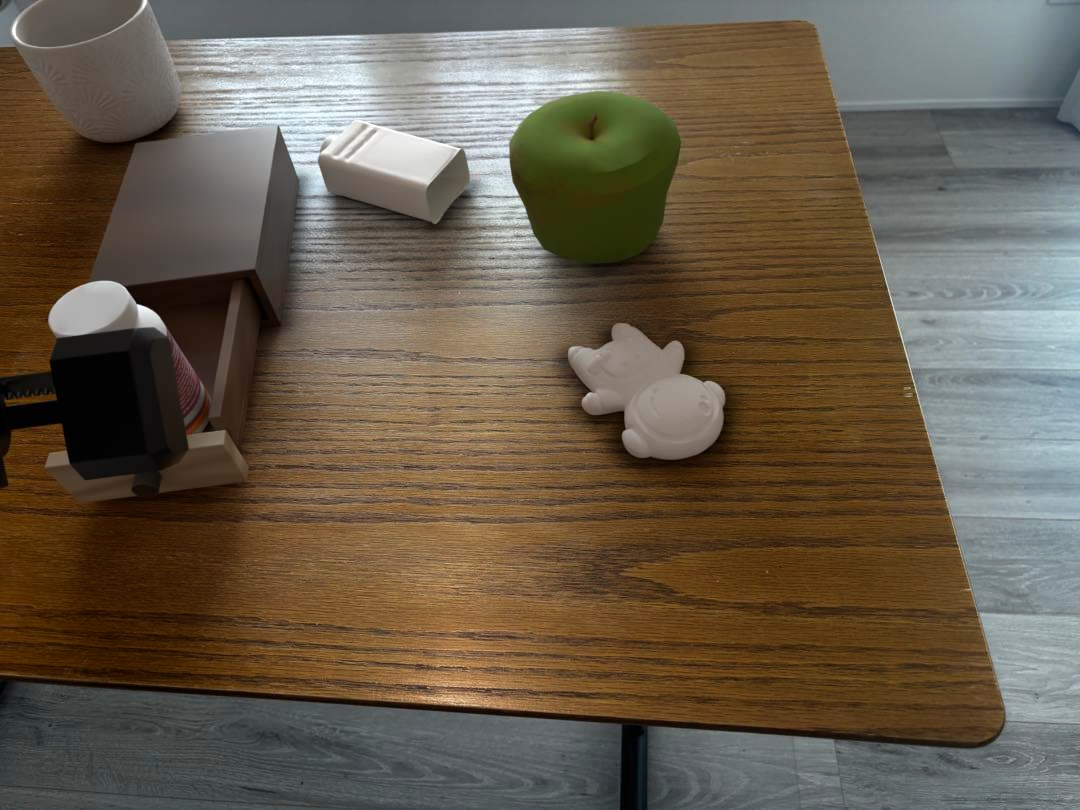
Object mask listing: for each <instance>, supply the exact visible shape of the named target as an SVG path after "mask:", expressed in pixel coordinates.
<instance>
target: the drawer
mask: <svg viewBox="0 0 1080 810" xmlns="http://www.w3.org/2000/svg"><path fill="white" fill-rule="evenodd" d="M129 294H130V295H131V297H132V298H133V299H134V301H135V302H136V304H137V305H141V306H144V307H147V308H149V309H151V310H152V311H153V312H155V313H156V314H157V315H158V316H159V317H160V319H161V320H162V322H163V323H164V325H165V326H166V328H167V329H168V331H169V332H170V334H171V336H172V337H173V339H174V340H175V342H176V343H177V345H178V346H179V348H180V350H181V351H182V353H183V354H184V356H185V357H186V359H187V360H188V362H189V364H190V365H191V367H192V368H193V370H194V372H195V373H196V375H197V376H198V378H199V379H200V381H201V383H202V384H203V386H204V387H205V389H206V390H207V392H208V394H209V396H210V398H211V405H210V410H209V416H208V419H209V422H208V424H207V426H206V427H205V429H204V430H203V431H202V433H199V434H191V435H187V440H188V446H189V450H188V451H187V453H186V454H185V455H184V457H183V458H182V460H181V461H180V462H179V463H178V464H175V465H173V466H171V467H168V468H166V469H164V470H162V471H154V472H146V473H139V474H131V475H123V476H116V477H108V478H100V479H92V480H84V479H83V478H82V477H81V476H80V475H79V474H78V472H77V471H76V470H75V469H74V468H73V467H72V466H71V465H70V464H69V459H68V454H67V450H62V451H55V452H54V451H53V452H49V453H48V456H47V459H46V462H45V465H44V469H45V470H46V472H48V473H49V475H50V476H51V477H52V478H53V479H54V480H55V481H56V482H57V483H58V484H59V486H61V487H62V488H63V489H64V491H66V492H67V494H69V495H70V496H71V497H72V498H73V499H74V500H75V502H77V503H78V504H85V503H93V502H100V501H109V500H115V499H123V498H130V497H131V498H132V497H140V498H147V499H148V498H149V499H150V498H154V497H156V496H158V495H159V494H161V493H169V492H178V491H185V490H193V489H199V488H207V487H214V486H215V487H216V486H222V485H231V484H238V483H246V482H248V478H249V477H248V475H249V470H250V469H249V468H250V467H249V465H248V464H247V462H246V460H245V458H244V457H243V456H242V454H241V451H242V447H243V438H244V433H245V426H246V420H247V413H248V406H249V399H250V393H251V388H252V387H251V385H252V380H253V372H254V366H255V360H256V354H257V353H256V352H257V346H258V339H259V333H260V332H259V331H260V328H259V326H260V319H261V313H262V306H263V305H262V303H261V301H260V299H259V297H258V295H257V293H256V290H255V288H254V286H253V284H252V282H251V280H250V278H249V277H245V278H237V279H229V280H222V281H214V282H206V283H199V284H191V285H184V286H176V287H168V288H161V289H153V290H145V291H138V292H130V293H129Z"/></svg>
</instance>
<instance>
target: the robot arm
mask: <svg viewBox="0 0 1080 810" xmlns="http://www.w3.org/2000/svg"><path fill="white" fill-rule="evenodd" d="M49 357H50V358H49V362H48V363H49V367H50V370H47V371H40V372H32V373H31V372H30V373H24V374H17V375H9V376H1V377H0V490H2V489H5V488H7V487H9V486H10V485H9V480H8V475H7V471H6V466H5V460H4V457H5V456H7V454H8V453H9V450H10V448H11V447H10V446H11V442H12V431H14V430H15V431H16V430H23V429H29V428H38V427H45V426H52V425H53V426H55V425H60V424H61V427H62V433H63V437H64V438H63V439H64V444H65V448H66V451H67V454H68V459H69V464H70V465H71V466H72V467H73V468H74V469H75V470H76V471H77V472H78V474H79V475H80V476H81V477H82V478H83V479H84V480H92V479H100V478H108V477H116V476H123V475H131V474H139V473H146V472H154V471H162V470H164V469H166V468H168V467H171V466H173V465H175V464H178V463H179V462H180V461H181V460H182V458H183V457H184V455H185V454H186V453H187V451H188V450H189V446H188V440H187V435H186V429H185V424H184V418H183V412H182V407H181V401H180V396H179V390H178V385H177V379H176V373H175V368H174V362H173V357H172V351H171V346H170V340H169V337H167V336H166V335H165V334H163V333H162V332H161V331H159V330H158V329H157V328H155V327H143V328H130V329H123V330H115V331H107V332H100V333H92V334H84V335H77V336H69V337H61V338H56V341H55V343H54V346H53V348H52V352H51V354H50V356H49ZM50 394H52V395H55V398H56V399H48V400H42V401H33V402H25V403H18V404H17V403H16V404H10V405H7V403H6V402H5V401H11V400H20V399H24V398H25V399H27V398H32V397H34V398H35V397H41V396H49V395H50Z"/></svg>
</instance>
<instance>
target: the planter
mask: <svg viewBox="0 0 1080 810" xmlns="http://www.w3.org/2000/svg"><path fill="white" fill-rule="evenodd" d="M9 38H10V41H11V43H12V44H13V45H14V46H15V48H16V49H17V51H18V53H19V54H20V56H21V57H22V59H23V61H24V63H25V64H26V65H27V68H28V69H29V70H30V72H31V73H32V76H34V77H35V79H36V81H37V83H38V84H39V85H40V87H41V88H42V90H43V91H44V94H45V95H47V97H48V99H49V100H50V102H51V103H52V105H53V106H54V108H55V109H56V110H57V112H58V113H59V114H60V116H61V117H62V119H64V121H65V122H66V123H67V124H68V125H69V126H70V128H72V129H73V130H74V131H75V132H76V133H78V134H79V135H80V136H82V137H83V138H86V139H89V140H91V141H94V142H99V143H109V144H110V143H113V144H114V143H124V142H125V143H126V142H130V141H134V140H137V139H140V138H143V137H147V136H148V135H150V134H153V133H154V132H156V131H158V130H159V129H162V127H164V126H165V125H166V124H167V123H168V122H169V121H170V120H172V119H173V117H175V115H176V113H177V111H178V110H179V108H180V105H181V102H182V87H181V84H180V79H179V75H178V72H177V69H176V66H175V63H174V61H173V58H172V56H171V55H172V54H171V52H170V50H169V48H168V46H167V43H166V40H165V38H164V36H163V33H162V30H161V28H160V26H159V23H158V21H157V19H156V16H155V14H154V12H153V9H152V6H151V4H150V2H149V0H37V1H36V2H34V3H32V4H30V5H29V6H27V7H26V8H25V9H24V10H22V11H21V12H20V13H19V14H18V15H17V17H15V18H14V20H13V21H12V23H11V25H10V27H9Z"/></svg>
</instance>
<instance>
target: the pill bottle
mask: <svg viewBox="0 0 1080 810" xmlns="http://www.w3.org/2000/svg"><path fill="white" fill-rule="evenodd" d="M47 319H48V321H47V322H48V327H49V329H50V330H51V332H52V333H53V335H54V336H55V338H56V339H57V338H61V337H69V336H77V335H84V334H92V333H100V332H107V331H115V330H123V329H130V328H143V327H155V328H157V329H158V330H159V331H161V332H162V333H163V334H165V335H166V336H167V337H169V340H170V346H171V351H172V357H173V362H174V368H175V373H176V379H177V385H178V390H179V396H180V401H181V407H182V412H183V418H184V424H185V429H186V435H191V434H199V433H202V431H203V430H204V429H205V427H206V426H207V424H208V422H209V419H208V416H209V410H210V405H211V398H210V396H209V394H208V392H207V390H206V389H205V387H204V386H203V384H202V383H201V381H200V379H199V378H198V376H197V375H196V373H195V372H194V370H193V368H192V367H191V365H190V364H189V362H188V360H187V359H186V357H185V356H184V354H183V353H182V351H181V350H180V348H179V346H178V345H177V343H176V342H175V340H174V339H173V337H172V336H171V334H170V332H169V331H168V329H167V328H166V326H165V325H164V323H163V322H162V320H161V319H160V317H159V316H158V315H157V314H156V313H155V312H153V311H152V310H151V309H149V308H147V307H144V306H141V305H137V304H136V302H135V301H134V299H133V298H132V297H131V295H130V294H129V292H128V291H127V289H126V288H125V287H123V286H122V285H121V284H119V283H116V282H112V281H96V282H91V283H88V282H87V283H85V284H82V285H79V286H77V287H75V288H73V289H71V290H70V291H68V292H66V293H65V294H63V295H62V297H60V298H59V299H58V300H57V301H56V303H54V305H53V306H52V308H51V310H50V312H49V314H48V317H47Z"/></svg>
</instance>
